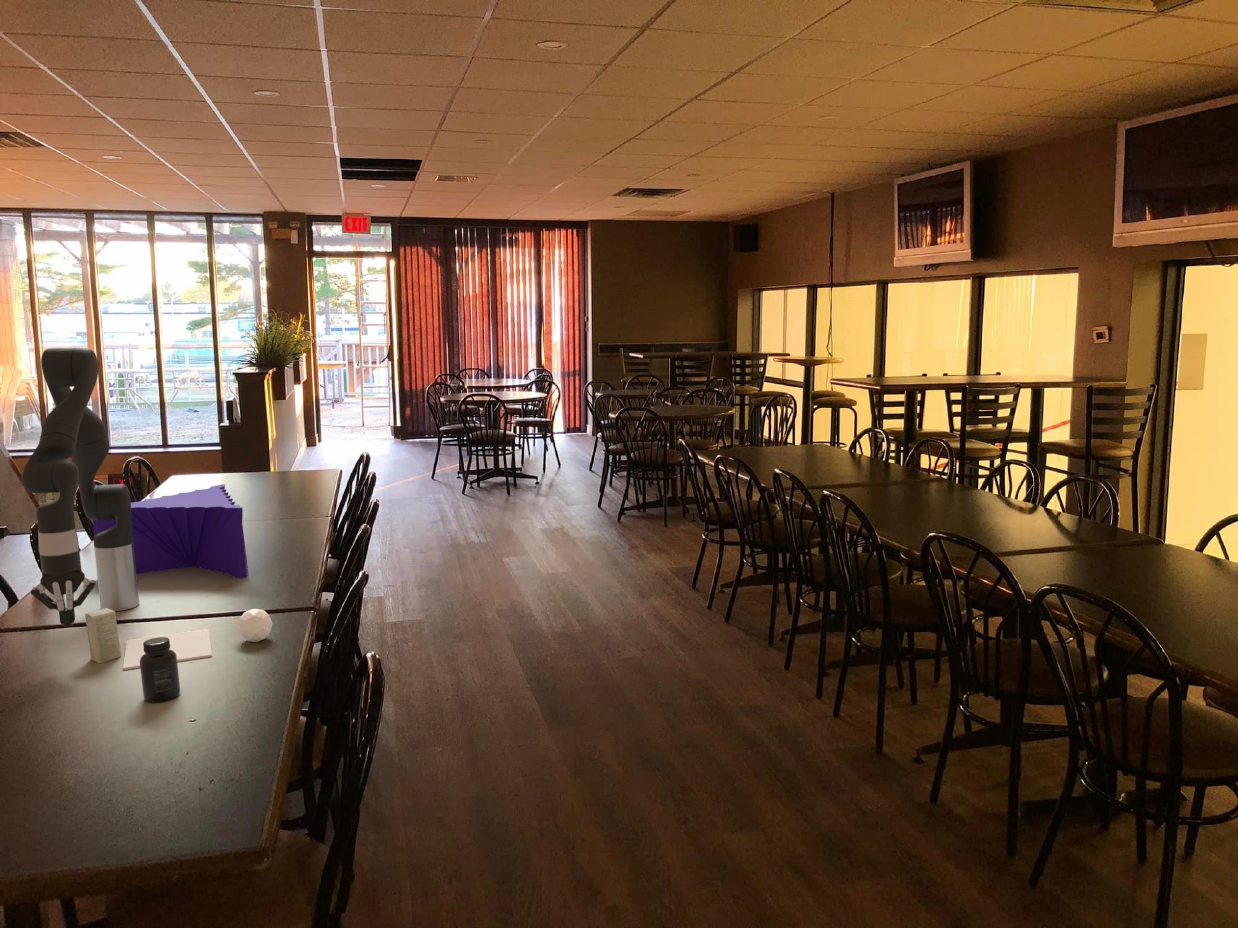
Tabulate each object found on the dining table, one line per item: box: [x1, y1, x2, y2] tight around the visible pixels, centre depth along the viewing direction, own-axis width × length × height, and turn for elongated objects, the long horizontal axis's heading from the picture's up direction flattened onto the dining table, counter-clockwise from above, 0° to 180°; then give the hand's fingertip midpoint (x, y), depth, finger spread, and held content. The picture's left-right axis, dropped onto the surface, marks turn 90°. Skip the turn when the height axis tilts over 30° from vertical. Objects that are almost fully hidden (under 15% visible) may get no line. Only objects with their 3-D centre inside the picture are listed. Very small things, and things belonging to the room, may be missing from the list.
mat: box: [122, 628, 213, 671], centre depth 219 cm, size 20×18×1 cm
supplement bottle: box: [139, 637, 181, 703], centre depth 191 cm, size 7×7×12 cm
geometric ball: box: [236, 608, 273, 643], centre depth 224 cm, size 8×8×8 cm
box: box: [84, 608, 122, 664], centre depth 213 cm, size 5×4×11 cm
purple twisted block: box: [91, 483, 249, 579], centre depth 296 cm, size 40×45×21 cm
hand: (68, 624), depth 210 cm, fingers closed
